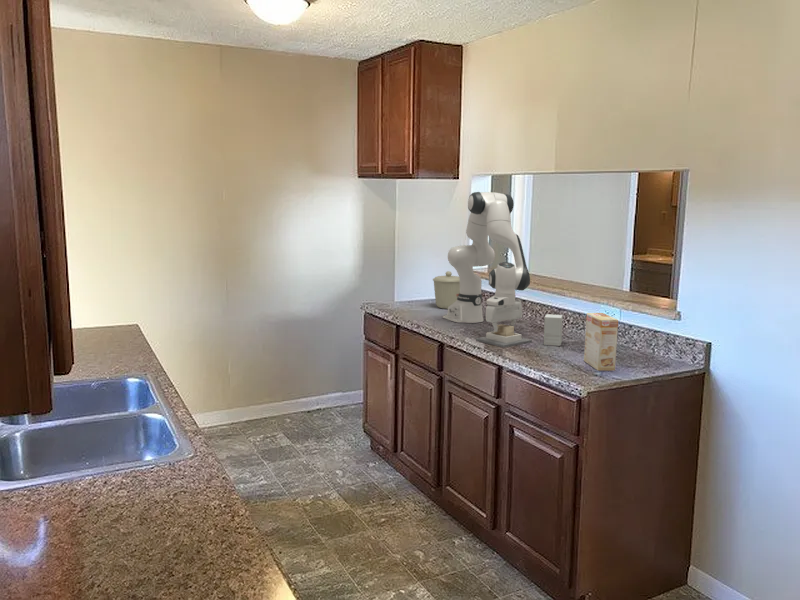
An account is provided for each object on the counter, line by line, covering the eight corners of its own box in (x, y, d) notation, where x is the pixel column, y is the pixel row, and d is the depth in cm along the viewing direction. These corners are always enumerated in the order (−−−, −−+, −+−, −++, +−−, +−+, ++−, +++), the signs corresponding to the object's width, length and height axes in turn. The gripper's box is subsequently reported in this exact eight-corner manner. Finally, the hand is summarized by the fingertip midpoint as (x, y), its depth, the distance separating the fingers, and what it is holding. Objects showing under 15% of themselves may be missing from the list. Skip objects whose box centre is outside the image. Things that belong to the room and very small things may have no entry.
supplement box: (561, 342, 293) (563, 314, 291) (560, 346, 286) (561, 317, 284) (545, 341, 295) (546, 313, 293) (542, 345, 288) (544, 316, 286)
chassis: (475, 340, 296) (476, 332, 295) (503, 335, 306) (504, 328, 306) (503, 347, 282) (503, 339, 282) (531, 342, 293) (532, 334, 293)
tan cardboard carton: (494, 338, 295) (494, 325, 295) (502, 337, 298) (502, 324, 298) (505, 341, 290) (506, 327, 289) (513, 339, 293) (514, 326, 292)
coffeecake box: (615, 370, 247) (619, 319, 244) (597, 371, 246) (600, 319, 243) (600, 360, 262) (603, 312, 258) (583, 361, 261) (585, 312, 258)
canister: (429, 305, 388) (430, 269, 384) (460, 304, 390) (461, 269, 386) (434, 310, 370) (435, 273, 367) (466, 310, 372) (467, 273, 369)
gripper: (515, 296, 300) (514, 326, 302) (483, 300, 288) (482, 331, 290) (526, 298, 295) (525, 328, 297) (494, 302, 283) (493, 334, 285)
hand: (503, 330), depth 294 cm, fingers open, 8 cm apart
